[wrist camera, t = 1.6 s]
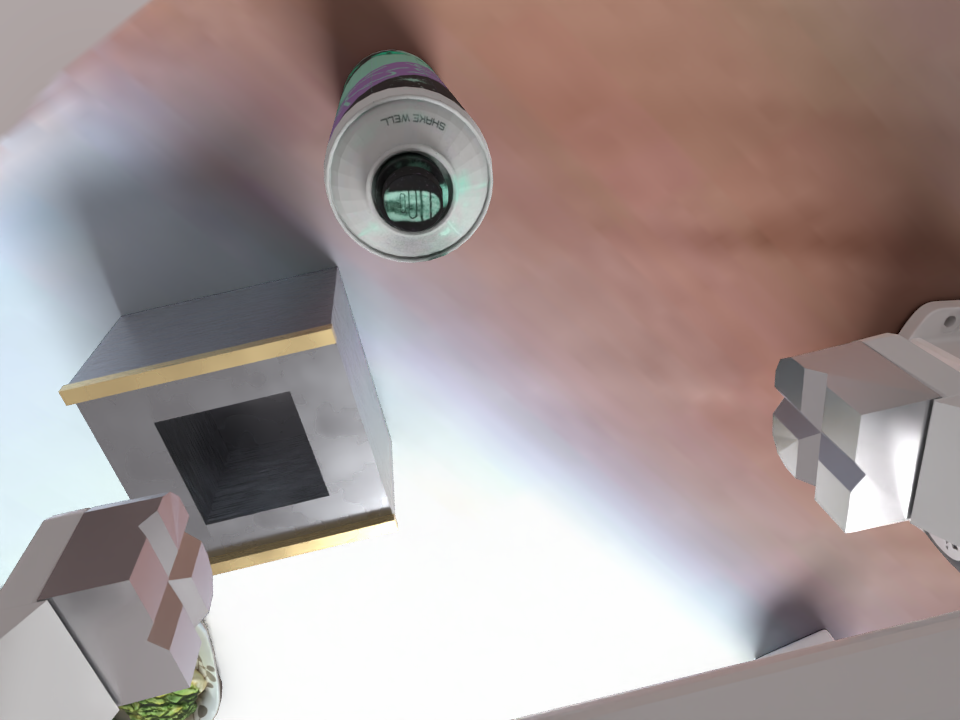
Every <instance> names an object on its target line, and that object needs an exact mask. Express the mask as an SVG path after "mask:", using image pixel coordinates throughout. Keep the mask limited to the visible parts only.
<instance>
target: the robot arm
mask: <svg viewBox="0 0 960 720" xmlns="http://www.w3.org/2000/svg"><path fill="white" fill-rule="evenodd" d="M775 387H776V389H777V390H778V391H779V392H780V393H781V394H782V395H783V396H784V399H783V400H782V402H781V403H780V405H779V406H778V407H777V409H776V410H775V412H774V413H773V437H774V441H775V445H776V448H777V452H778V454H779V456H780V458H781V460H782V462H783V463H784V465H785V467H786V468H787V469H788V470H789V471H790V472H791V474H792V475H793V476H794V477H795V478H796V479H799V480H801V481H804V482H806V483H809V484H811V485H814V486H816V491H815V500H816V502H817V503H818V504H819V505H820V506H821V507H822V508H823V509H824V510H825V511H826V512H827V514H828V515H829V516H830V517H831V518H832V519H833V520H834V521H835V522H836V523H837V524H838V526H839V527H840V528H841V529H842V530H843V531H844V532H845V533H849V532H854V531H859V530H864V529H869V528H874V527H878V526H883V525H888V524H893V523H898V522H903V521H907V520H908V521H910V523H911V524H913V525H915V526H916V527H918V528H919V529H920V530H922V531H923V532H924V533H926V534H927V536H928V537H929V538H930V540H931V541H932V542H933V543H934V545H935V546H936V547H937V548H938V550H939V551H940V552H941V553H942V554H943V555H944V557H945V558H946V559H947V560H948V561H949V562H950V563H951V564H952V565H953V566H954V567H955V568H956V569H957V570H958V571H959V572H960V300H950V301H934V302H929V303H926V304H924V305H923V306H921V307H920V308H919V309H918V310H917V311H915V313H914V314H913V315H912V316H911V317H910V319H909V320H908V321H907V322H906V324H905V325H904V327H903V328H902V329H901V331H900V332H899V334H892V333H884V334H880V335H876V336H872V337H868V338H864V339H861V340H857V341H853V342H851V343H847V344H843V345H839V346H834V347H830V348H826V349H822V350H818V351H813V352H809V353H805V354H801V355H797V356H792V357H788V358H784V359H780V362H779V364H778V366H777V369H776V375H775ZM188 518H189V514H188V512H187V510H186V508H185V507H184V505H183V503H182V501H181V499H180V497H179V496H178V495H176V494H174V493H172V492H166V493H161V494H156V495H151V496H146V497H141V498H136V499H131V500H126V501H120V502H115V503H110V504H105V505H100V506H95V507H93V508H85V509H80V510H76V511H71V512H67V513H63V514H58V515H54V516H52V517H50V518H48V519H46V520H44V521H43V522H42V524H41V526H40V527H39V529H38V531H37V532H36V534H35V535H34V537H33V539H32V540H31V542H30V544H29V545H28V547H27V548H26V550H25V552H24V553H23V555H22V556H21V558H20V560H19V561H18V563H17V565H16V566H15V568H14V569H13V571H12V573H11V574H10V576H9V578H8V579H7V581H6V582H5V584H4V586H3V587H2V589H1V590H0V720H112V719H113V718H114V716H115V715H116V714H117V713H118V711H119V708H118V707H119V706H123V705H126V704H130V703H134V702H138V701H142V700H145V699H149V698H153V697H157V696H160V695H164V694H168V693H172V692H176V691H179V690H183V689H187V688H190V686H191V682H192V678H193V674H194V670H195V666H196V662H197V658H198V654H199V651H200V647H201V643H202V641H201V639H200V637H199V635H198V633H197V631H196V629H195V627H196V626H197V625H198V624H199V623H200V622H201V621H202V620H203V619H204V618H205V617H206V616H207V614H208V613H209V610H210V606H211V601H212V597H213V576H212V569H211V565H210V561H209V557H208V554H207V552H206V550H205V548H204V546H203V543H202V541H200V540H198V539H196V538H195V537H193V536H191V535H189V534H188V533H186V532H184V531H185V528H186V525H187V522H188ZM512 720H960V610H958V611H954V612H950V613H946V614H941V615H937V616H933V617H929V618H925V619H921V620H917V621H913V622H909V623H905V624H900V625H896V626H892V627H888V628H884V629H880V630H876V631H872V632H868V633H864V634H859V635H855V636H851V637H847V638H843V639H839V640H835V641H831V642H827V643H823V644H818V645H814V646H810V647H806V648H802V649H798V650H794V651H790V652H786V653H781V654H777V655H773V656H769V657H765V658H761V659H757V660H753V661H749V662H745V663H740V664H736V665H732V666H728V667H724V668H720V669H716V670H712V671H708V672H704V673H699V674H695V675H691V676H687V677H683V678H679V679H675V680H671V681H667V682H663V683H659V684H655V685H650V686H646V687H642V688H638V689H634V690H630V691H626V692H622V693H618V694H614V695H610V696H606V697H602V698H598V699H593V700H589V701H585V702H581V703H577V704H573V705H569V706H565V707H561V708H557V709H553V710H549V711H545V712H540V713H536V714H532V715H528V716H524V717H520V718H516V719H512Z"/></svg>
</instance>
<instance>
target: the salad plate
mask: <svg viewBox="0 0 960 720" xmlns="http://www.w3.org/2000/svg"><path fill="white" fill-rule="evenodd" d="M195 629H196V631H197V633H198V635H199V637H200V639H201V641H202V643H201V647H200V651H199V654H198V658H197V662H196V666H195V670H194V674H193V678H192V682H191V686H190V688H187V689H183V690H179V691H176V692H172V693H168V694H164V695H160V696H157V697H153V698H149V699H145V700H142V701H138V702H134V703H130V704H126V705H123V706H119V707H118V708H119V711H118V713H117V714H116V715H115V716H114V718H113V719H112V720H213V719H214V718H215V716H216V715H217V713H218V710H219V706H220V702H221V697H222V681H221V679H220V677H219V675H218V672H217V666H216V660H215V652H214V648H213V646H212V643H211V640H210V637H209V633H208V630H207V627H206V625H205V624H204V623H203V622H202V621H201V622H200V623H199V624H198V625H197V626H196V627H195Z"/></svg>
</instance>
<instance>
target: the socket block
mask: <svg viewBox="0 0 960 720" xmlns="http://www.w3.org/2000/svg"><path fill="white" fill-rule="evenodd" d="M59 394H60V395H61V397H62V399H63V401H64V402H65V404H66V406H67V405H72V404H76V405H77V406H78V408H79V410H80V412H81V413H82V415H83V417H84V419H85V420H86V422H87V424H88V426H89V427H90V429H91V431H92V433H93V434H94V436H95V438H96V440H97V442H98V443H99V445H100V447H101V449H102V450H103V452H104V454H105V456H106V457H107V459H108V461H109V463H110V464H111V466H112V468H113V470H114V471H115V473H116V475H117V477H118V478H119V480H120V482H121V484H122V486H123V487H124V489H125V491H126V493H127V494H128V496H129V498H130V500H131V499H136V498H141V497H146V496H151V495H156V494H161V493H166V492H172V493H174V494H176V495H178V496H179V497H180V499H181V501H182V503H183V505H184V507H185V508H186V510H187V512H188V514H189V518H188V522H187V525H186V528H185V531H184V532H186V533H188V534H189V535H191V536H193V537H195V538H196V539H198V540H200V541H202V543H203V546H204V548H205V550H206V552H207V554H208V557H209V561H210V565H211V569H212V576H213V575H217V574H221V573H225V572H229V571H233V570H238V569H242V568H246V567H250V566H254V565H258V564H262V563H267V562H271V561H275V560H279V559H283V558H287V557H291V556H296V555H300V554H304V553H308V552H312V551H316V550H320V549H324V548H329V547H333V546H337V545H341V544H345V543H349V542H353V541H358V540H362V539H366V538H370V537H374V536H378V535H382V534H387V533H391V532H395V531H398V524H397V521H396V518H395V503H394V482H393V460H392V441H391V438H390V434H389V431H388V428H387V425H386V421H385V418H384V415H383V412H382V408H381V405H380V402H379V399H378V395H377V392H376V389H375V386H374V382H373V379H372V376H371V373H370V369H369V366H368V363H367V360H366V357H365V353H364V350H363V347H362V344H361V340H360V337H359V334H358V331H357V327H356V324H355V321H354V318H353V314H352V311H351V308H350V305H349V301H348V298H347V295H346V292H345V288H344V285H343V282H342V279H341V275H340V272H339V269H338V267H334V268H330V269H325V270H321V271H317V272H312V273H308V274H304V275H299V276H295V277H290V278H286V279H282V280H277V281H273V282H268V283H264V284H260V285H255V286H251V287H247V288H242V289H238V290H233V291H229V292H225V293H220V294H216V295H211V296H207V297H203V298H198V299H194V300H190V301H185V302H181V303H176V304H172V305H168V306H163V307H159V308H154V309H150V310H146V311H141V312H137V313H133V314H128V315H124V316H121V317H120V318H119V320H118V321H117V322H116V323H115V325H114V326H113V327H112V329H111V330H110V331H109V332H108V334H107V335H106V336H105V338H104V339H103V340H102V341H101V343H100V344H99V345H98V347H97V348H96V349H95V351H94V352H93V353H92V354H91V356H90V357H89V358H88V360H87V361H86V362H85V363H84V365H83V366H82V367H81V369H80V370H79V371H78V372H77V374H76V375H75V376H74V378H73V379H72V380H71V382H70V383H69V384H68V385H63V387H62V388H61V389H60V390H59Z"/></svg>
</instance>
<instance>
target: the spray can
mask: <svg viewBox="0 0 960 720" xmlns="http://www.w3.org/2000/svg"><path fill="white" fill-rule="evenodd" d="M324 182H325V187H326V192H327V197H328V199H329V203H330V205H331V208H332V210H333V212H334V215H335V217H336V219H337V220H338V222H339V223H340V225H341V226H342V228H343V229H344V231H345V232H346V233H347V234H348V235H349V236H350V237H351V238H352V239H353V240H354V241H355V242H356V243H357V244H359V245H360V246H362V247H363V248H364V249H366V250H367V251H369V252H371V253H373V254H375V255H378V256H380V257H382V258H385V259H389V260H393V261H397V262H413V263H414V262H422V261H429V260H432V259H435V258H438V257H441V256H444V255H446V254H448V253H450V252H451V251H453V250H455V249H457V248H458V247H459V246H461V245H462V244H463V243H464V242H465V241H467V240H468V239H469V238H470V237H471V235H472V234H473V233H474V232H475V231H476V229H477V228H478V227H479V225H480V224H481V222H482V220H483V218H484V216H485V214H486V212H487V209H488V206H489V203H490V200H491V196H492V187H493V174H492V163H491V157H490V153H489V149H488V146H487V143H486V141H485V139H484V137H483V135H482V133H481V131H480V129H479V127H478V126H477V125H476V123H475V122H474V121H473V120H472V118H471V117H470V116H469V114H468V113H467V112H466V111H465V109H464V108H463V107H462V106H461V105H460V103H459V102H458V101H457V100H456V98H455V97H454V96H453V95H452V93H451V92H450V91H449V90H448V88H447V87H446V86H445V85H444V84H443V82H442V81H441V80H440V79H439V77H438V76H437V75H436V74H435V72H434V71H433V70H432V69H431V67H430V66H429V65H427V64H426V63H425V62H424V61H423V60H422V59H420V58H418V57H416V56H415V55H413V54H410V53H407V52H404V51H399V50H384V51H379V52H376V53H373V54H371V55H369V56H367V57H366V58H364V59H362V60H361V61H360V62H359V63H358V64H357V65H356V66H355V67H354V68H353V70H352V71H351V73H350V74H349V76H348V78H347V80H346V83H345V85H344V89H343V92H342V96H341V99H340V103H339V107H338V110H337V114H336V117H335V121H334V124H333V128H332V132H331V135H330V139H329V142H328V146H327V151H326V156H325V161H324Z"/></svg>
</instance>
